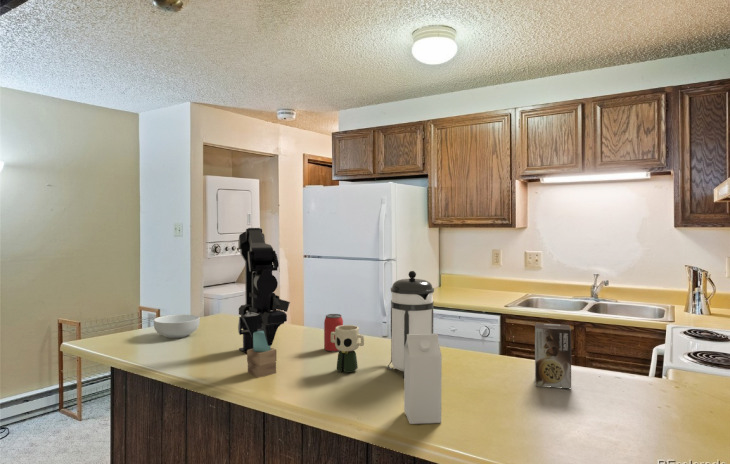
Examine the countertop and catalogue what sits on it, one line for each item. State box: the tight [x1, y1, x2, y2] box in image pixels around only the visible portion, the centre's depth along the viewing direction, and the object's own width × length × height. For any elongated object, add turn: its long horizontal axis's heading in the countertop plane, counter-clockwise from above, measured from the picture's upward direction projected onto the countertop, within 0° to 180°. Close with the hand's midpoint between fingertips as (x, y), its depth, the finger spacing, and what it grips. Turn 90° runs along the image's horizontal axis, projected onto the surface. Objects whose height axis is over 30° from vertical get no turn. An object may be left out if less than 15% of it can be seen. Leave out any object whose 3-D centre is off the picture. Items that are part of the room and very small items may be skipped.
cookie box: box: [534, 322, 572, 389], centre depth 127 cm, size 9×6×16 cm
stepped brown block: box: [246, 347, 277, 366], centre depth 136 cm, size 6×6×4 cm
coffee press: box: [387, 270, 435, 380], centre depth 138 cm, size 17×16×30 cm
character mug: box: [331, 324, 365, 373], centre depth 138 cm, size 11×7×13 cm, turn 67°
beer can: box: [323, 313, 344, 353], centre depth 161 cm, size 7×7×12 cm
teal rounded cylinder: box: [253, 331, 272, 352], centre depth 136 cm, size 5×5×5 cm
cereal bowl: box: [153, 314, 201, 339], centre depth 181 cm, size 17×17×7 cm
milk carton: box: [403, 333, 443, 425], centre depth 105 cm, size 7×7×19 cm
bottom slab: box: [247, 361, 277, 378], centre depth 136 cm, size 6×6×4 cm
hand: (262, 342), depth 136 cm, fingers open, 9 cm apart
